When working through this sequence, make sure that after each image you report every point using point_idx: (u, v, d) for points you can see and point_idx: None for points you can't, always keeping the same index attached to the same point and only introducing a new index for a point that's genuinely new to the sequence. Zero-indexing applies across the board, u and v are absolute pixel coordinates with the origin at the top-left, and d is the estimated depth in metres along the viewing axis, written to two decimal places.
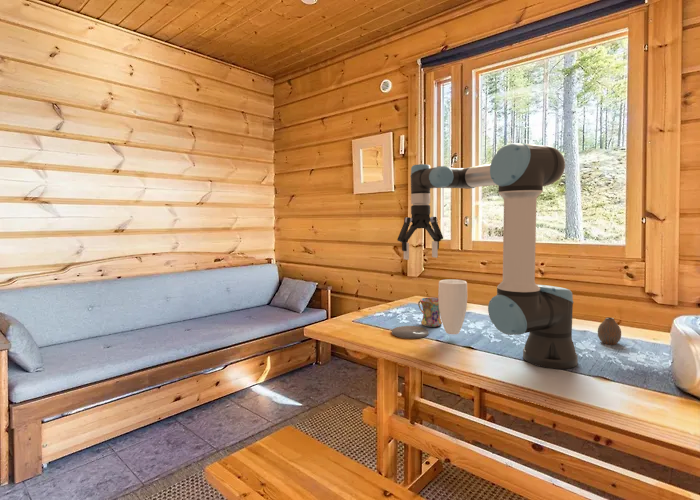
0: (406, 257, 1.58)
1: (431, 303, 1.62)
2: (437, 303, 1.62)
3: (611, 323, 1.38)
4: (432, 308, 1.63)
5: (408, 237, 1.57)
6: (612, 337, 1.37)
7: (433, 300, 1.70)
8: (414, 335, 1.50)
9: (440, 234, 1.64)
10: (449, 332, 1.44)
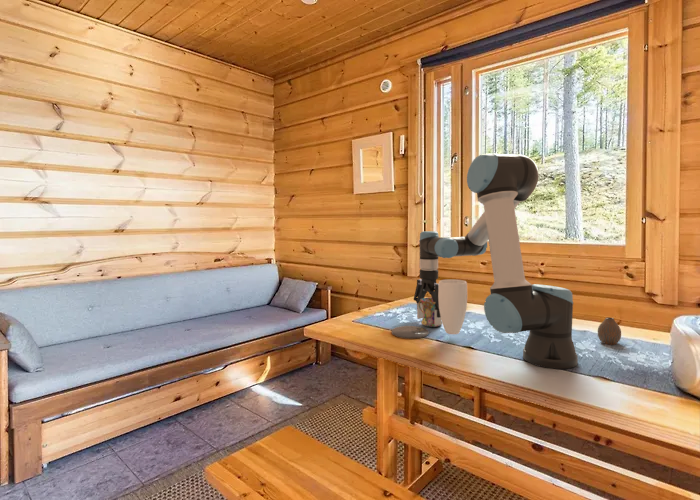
0: None
1: (431, 303, 1.62)
2: None
3: (611, 323, 1.38)
4: (432, 308, 1.63)
5: (418, 298, 1.72)
6: (612, 337, 1.37)
7: None
8: (414, 335, 1.50)
9: (438, 303, 1.60)
10: (449, 332, 1.44)
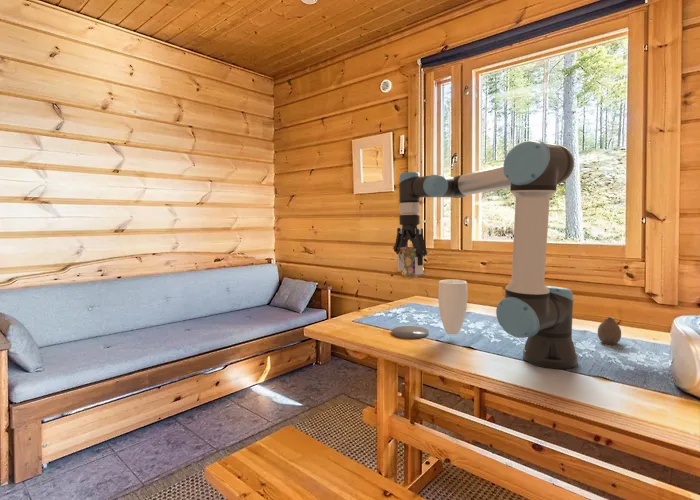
0: None
1: (412, 250, 1.48)
2: None
3: (611, 323, 1.38)
4: (413, 256, 1.48)
5: (398, 248, 1.58)
6: (612, 337, 1.37)
7: None
8: (414, 335, 1.50)
9: (419, 249, 1.45)
10: (449, 332, 1.44)
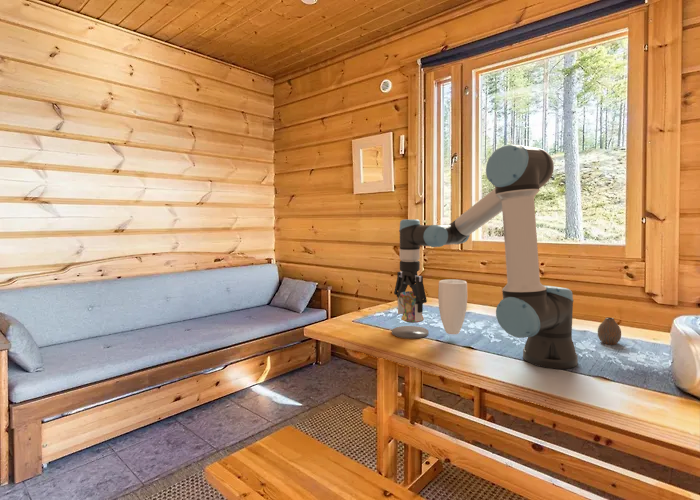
0: None
1: (412, 297, 1.49)
2: None
3: (611, 323, 1.38)
4: (413, 302, 1.50)
5: (398, 292, 1.59)
6: (612, 337, 1.37)
7: None
8: (414, 335, 1.50)
9: (419, 297, 1.47)
10: (449, 332, 1.44)
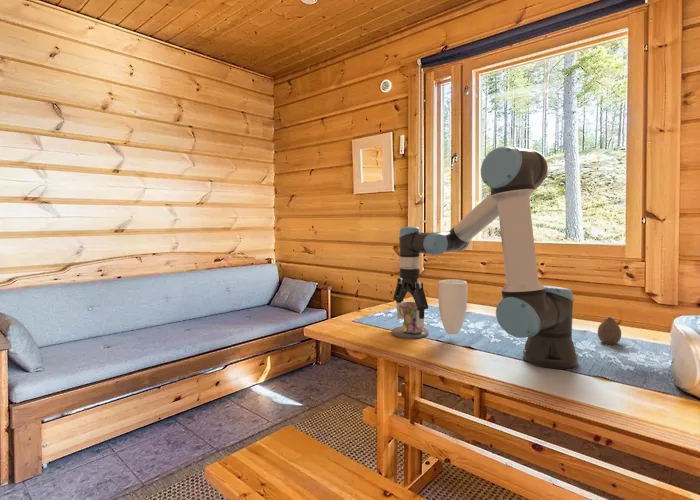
0: None
1: (412, 308, 1.49)
2: None
3: (611, 323, 1.38)
4: (413, 313, 1.50)
5: (398, 297, 1.60)
6: (612, 337, 1.37)
7: (414, 305, 1.57)
8: (414, 335, 1.50)
9: (420, 303, 1.46)
10: (449, 332, 1.44)
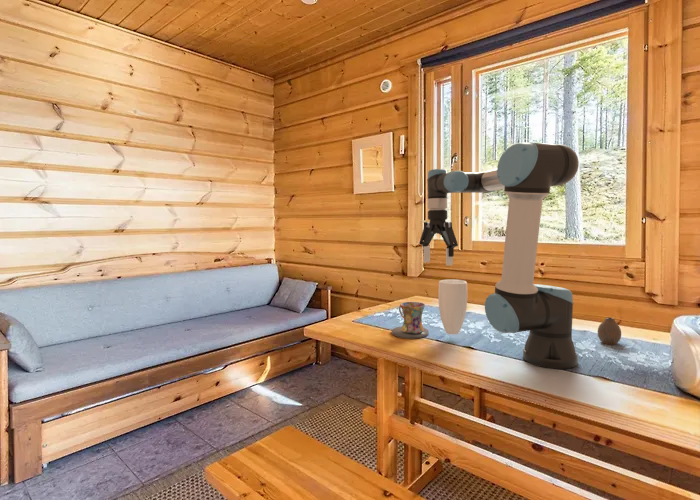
0: None
1: (412, 308, 1.49)
2: (418, 308, 1.50)
3: (611, 323, 1.38)
4: (413, 313, 1.50)
5: (424, 241, 1.65)
6: (612, 337, 1.37)
7: (414, 305, 1.57)
8: (414, 335, 1.50)
9: (450, 241, 1.52)
10: (449, 332, 1.44)
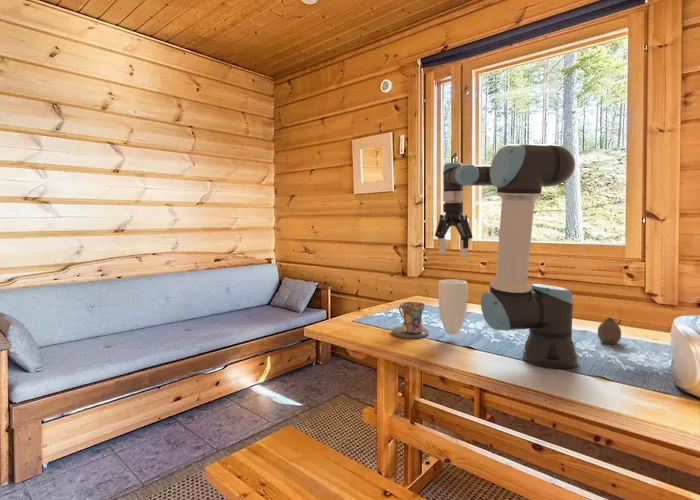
0: None
1: (412, 308, 1.49)
2: (418, 308, 1.50)
3: (611, 323, 1.38)
4: (413, 313, 1.50)
5: (440, 233, 1.69)
6: (612, 337, 1.37)
7: (414, 305, 1.57)
8: (414, 335, 1.50)
9: (465, 233, 1.55)
10: (449, 332, 1.44)
